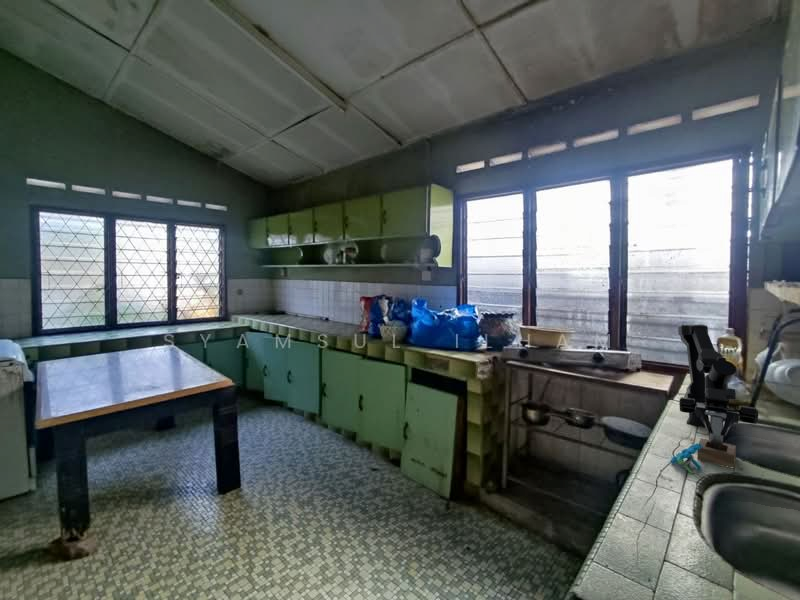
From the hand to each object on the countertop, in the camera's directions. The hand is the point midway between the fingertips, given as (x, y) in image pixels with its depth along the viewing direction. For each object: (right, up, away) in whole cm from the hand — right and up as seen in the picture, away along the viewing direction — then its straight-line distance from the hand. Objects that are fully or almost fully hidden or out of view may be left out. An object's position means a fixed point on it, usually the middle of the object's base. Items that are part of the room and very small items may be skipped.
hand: (716, 434), depth 111 cm
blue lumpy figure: (-11, -9, -2) cm, 15 cm away
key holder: (+1, -8, +1) cm, 8 cm away
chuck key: (+1, -6, +1) cm, 7 cm away
